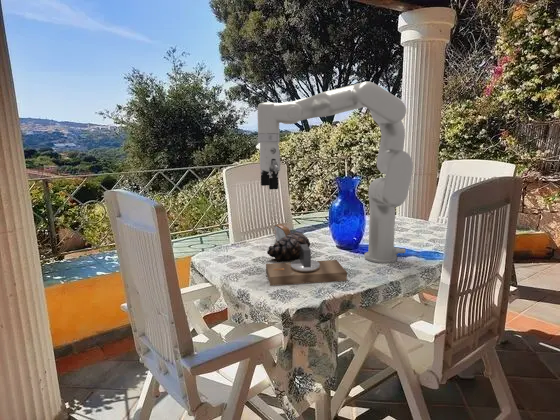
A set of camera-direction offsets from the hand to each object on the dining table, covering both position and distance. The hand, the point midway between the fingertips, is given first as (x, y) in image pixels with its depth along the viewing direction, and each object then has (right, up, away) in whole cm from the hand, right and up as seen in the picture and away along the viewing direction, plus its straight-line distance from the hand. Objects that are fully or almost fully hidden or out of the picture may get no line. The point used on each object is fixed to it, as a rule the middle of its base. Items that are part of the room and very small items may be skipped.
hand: (269, 187), depth 145 cm
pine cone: (+8, -28, +15) cm, 32 cm away
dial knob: (+12, -28, -4) cm, 31 cm away
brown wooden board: (+13, -31, -4) cm, 34 cm away
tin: (+5, -24, +34) cm, 42 cm away
